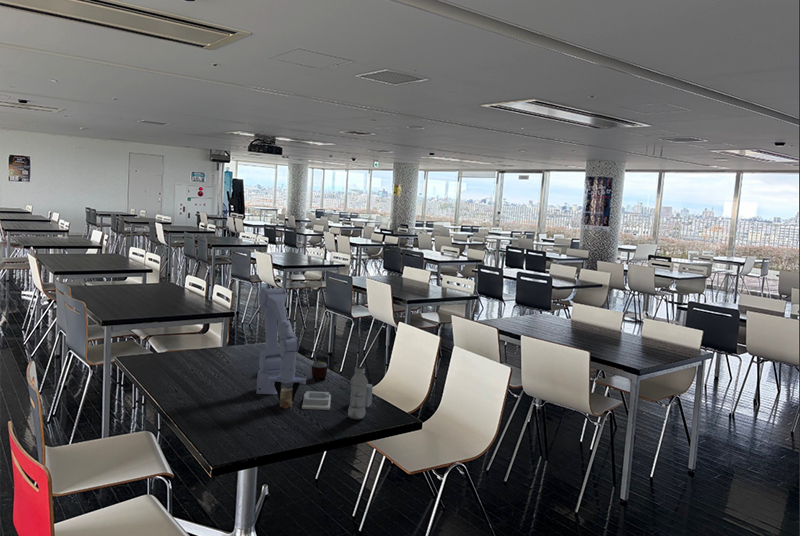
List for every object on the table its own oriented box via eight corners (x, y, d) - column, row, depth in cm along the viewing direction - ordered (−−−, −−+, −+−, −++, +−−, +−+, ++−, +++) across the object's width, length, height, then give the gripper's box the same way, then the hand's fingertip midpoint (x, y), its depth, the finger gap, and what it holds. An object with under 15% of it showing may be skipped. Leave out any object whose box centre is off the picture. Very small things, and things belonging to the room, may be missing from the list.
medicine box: (371, 404, 245) (373, 384, 244) (367, 408, 241) (369, 387, 240) (354, 401, 248) (355, 381, 247) (349, 404, 244) (351, 384, 243)
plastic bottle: (347, 414, 232) (350, 365, 230) (364, 415, 233) (368, 366, 231) (347, 421, 226) (350, 370, 224) (365, 421, 227) (368, 371, 224)
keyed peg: (279, 408, 234) (280, 393, 233) (281, 402, 240) (281, 388, 239) (290, 408, 234) (291, 393, 234) (292, 403, 240) (293, 388, 240)
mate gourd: (328, 377, 276) (329, 346, 274) (324, 382, 268) (326, 350, 266) (312, 376, 277) (314, 344, 275) (308, 381, 269) (309, 349, 267)
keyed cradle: (301, 408, 235) (302, 401, 235) (304, 395, 250) (305, 388, 249) (329, 409, 236) (330, 402, 236) (330, 396, 251) (331, 390, 250)
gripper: (268, 369, 231) (266, 403, 233) (305, 371, 233) (303, 404, 234) (270, 364, 238) (268, 396, 240) (306, 366, 240) (305, 398, 241)
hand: (286, 400), depth 238 cm, fingers closed on keyed peg, 4 cm apart
